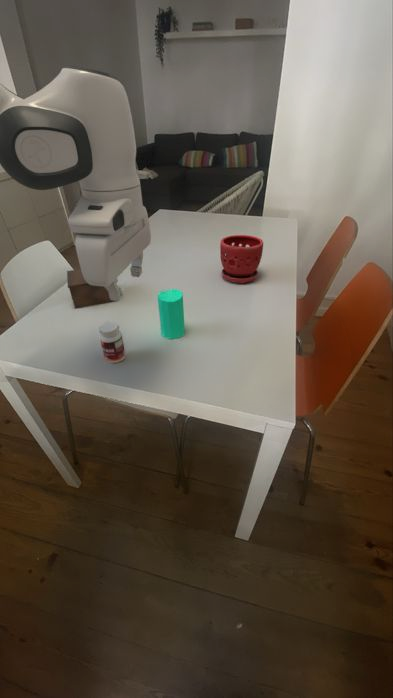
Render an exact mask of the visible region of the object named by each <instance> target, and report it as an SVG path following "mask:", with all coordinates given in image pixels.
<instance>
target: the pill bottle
mask: <svg viewBox="0 0 393 698" xmlns="http://www.w3.org/2000/svg"><path fill="white" fill-rule="evenodd" d="M98 330H99V342H100V345H101V350H102V353H103V357H104V360H105V361H106V362H107V363H109V364H117V363H120V362H121V361H123V360H124V359H125V358H126V355H127V353H126V348H125V343H124V339H123V338H124V337H123V333H122V331H121V330H120V327H119V324H118V323H117V322H116V321H105V322H102V323H101V324H100V325H99V327H98Z"/></svg>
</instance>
